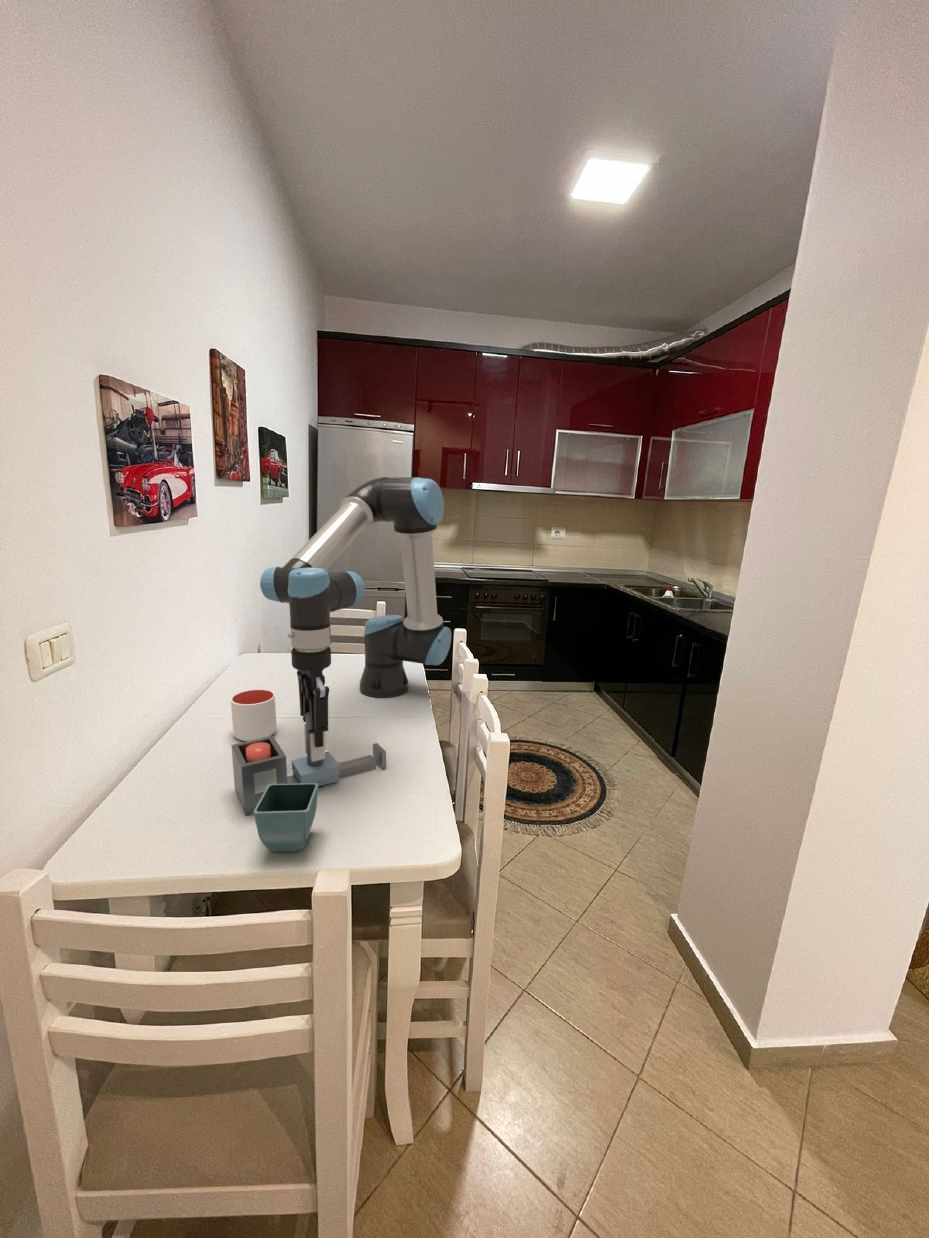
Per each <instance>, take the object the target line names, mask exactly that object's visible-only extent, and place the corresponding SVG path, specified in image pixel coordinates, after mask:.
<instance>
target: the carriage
mask: <svg viewBox="0 0 929 1238" xmlns="http://www.w3.org/2000/svg"><path fill="white" fill-rule="evenodd" d="M305 720H306V722H305V723H306V744H307V754H306V756H304V757H299V758H296V759H292V760H290V763H291V764H290V765H291V770H292V775H296V777H297V778H298V780H299V783H318V787H322V786H325V785H328V784H332V783H336V782H339V781H340V779H339V774H340V765H339V764H338V763H339V762H338V761H337V760H336V759H335V757H334V756H333V755H332V754H331V753H330V751H328V750H327V751H325V759H322V760H318V761H314V762H312V761H311V749H310V734H309V733H308V730H311V717H310V711H309V712H307V713H306V714H305Z"/></svg>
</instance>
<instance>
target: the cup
mask: <svg viewBox="0 0 929 1238" xmlns="http://www.w3.org/2000/svg"><path fill="white" fill-rule="evenodd" d="M230 708H231V719H232V720H231V721H232V730H233V731H232V733H233V736H234V737H235V738H236V739H237V740H239V741H243V742H247V741H252V740H256V739H261V738H266V737H270V736H274V733H275V732H277V728H278V727H277V713H276V712H277V711H276V710H277V709H276V695H275V693H274V692H273V691H272V690H267V689H250V690H245V691H241V692H239V693H236V694H234V695H232V696H231V698H230Z"/></svg>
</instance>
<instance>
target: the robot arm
mask: <svg viewBox="0 0 929 1238" xmlns="http://www.w3.org/2000/svg"><path fill="white" fill-rule="evenodd" d="M444 511H445V500H444V496H443V491H442V490H441V488H440V486H439V485H438V483H437V482H436V481H434V479H432V478H425V477H424V478H423V477H417V476H416V477H414V476H413V477H411V476H410V477H406V476H405V477H404V476H403V477H401V476H400V477H399V476H398V477H394V476H393V477H387V476H381V477H376V478H374V479H370V480H368V481H366V482H365V483H363V484H361V485H359V486H357V487H356V488H355V489H354V490H352V491H351V492H350V493H348V494H347V496H345V497H344V498H342V500H341V502H340V504H339V509H338V510H337V511H336V512H335V513H334V514H333V515H332V516H331V517H330V518H329V519H328V520H327V521H326V522H325V523H324V524H323V526H321V528H320V529H318V531H316V532H315V533H314V535H312V536H311V538H310V539H309V540H308V541H307V542H306V543H305V544H303V546H302V547H301V548H300V549H299V550H298V551H297V552H295V554H294V555H293V556H292V557H291V558H290V560H288V562H286V563H285V565H284V566H282V567H280V566H275V567H274V566H273V567H268V568H266V570H264V571H263V573H262V575H261V578H260V581H259V586H260V591H261V592H262V594H263V596H264V597H265V598H266V599H267V600H270V601H274V602H277V603H281V604H284V603H286V604H289V606H288V607H289V620H290V622H289V624H290V632H289V633H288V634H287V637H288V638H290V643H291V645H290V646H291V647H292V649H291V651H290V654H291V666H292V668H293V669H295V670H296V675H297V681H298V696H299V710H300V711H299V712H300V716H301V717H302V721H303V728H304V732H303V733H304V751H305V752H304V753H305V754H306V755H307V744H306V720H305V714H306V713H307V712H309V711H310V717H311V730H308V733H309V734H310V749H311V761H312V762H314V761H318V760H322V759H325V752H326V748H325V747H326V745H325V743H326V742H325V741H326V739H325V732H328V731H329V694H330V687H329V686H325V684H326V676H325V675H324V674H323V673H324V672H323V671H324V670H325V669H328V667H330V666H331V664H332V651H331V650H332V649H331V647H330V645H331V644H332V634H331V633H332V632H331V631H332V629H331V620H330V618H331V613H333V612H336V611H338V610H339V611H340V610H342V609H347V608H350V607H353V606H354V605H357V604H358V603H360V602H361V601H362V600H363V598H364V596H365V593H366V586H365V583H364V579H363V578H362V576H361V575H359V574H358V573H357V572H354V571H350V570H349V571H345V570H341V571H339V572H331V571H330V572H329V571H328V569H329V568H330V567H331V566H332V565H333V563H334V562H335V561H336V560H337V559H338V558H339V556H340V555H341V554H342V553H343V552H344V550H346V549H347V547H348V546H350V544H351V543H352V542H353V541H354V539H355V538H356V537H358V535H359V534H360V533H361V531H363V530H367V529H369V528H370V527H371V526H373V524H374V523H375V524H376V523H378V522H386V523H393V531H394V533H396V534H397V535H398V536H399V537H400V547H401V557H402V559H401V560H402V567H403V578H404V579H403V580H404V590H405V601H406V613H407V616H406V617H405V618H404V617H403V616H402V615H399V614H385V615H380V616H375V617H372V618H369V619H368V620H367V621H365V624H364V633H363V635H364V668H363V672H362V674H361V677H360V680H359V691H360V693H361V694H362V695H365V696H366V697H371V698H372V697H373V698H382V699H383V698H392V697H398V696H401V695H403V694H405V693H407V691H408V690H409V680H408V676H407V673H406V671H405V667H404V662H409V663H414V664H416V663H417V664H422V665H425V666H429V665H430V666H439V665H441V664H442V663H443V662H444V661H445V660H446V658H447V655H448V654H449V651H450V647H451V643H452V630H451V629H450V627H448V626H444V619H443V617H442V616H441V615H440V614H438V605H437V602H438V601H437V591H436V589H437V588H436V577H435V576H436V573H435V572H436V571H435V561H434V559H435V558H434V557H435V556H434V545H433V535H434V533H435V532H436V530H438V524H440V523H441V522H442V520H443V519H444V514H445V513H444Z"/></svg>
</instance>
